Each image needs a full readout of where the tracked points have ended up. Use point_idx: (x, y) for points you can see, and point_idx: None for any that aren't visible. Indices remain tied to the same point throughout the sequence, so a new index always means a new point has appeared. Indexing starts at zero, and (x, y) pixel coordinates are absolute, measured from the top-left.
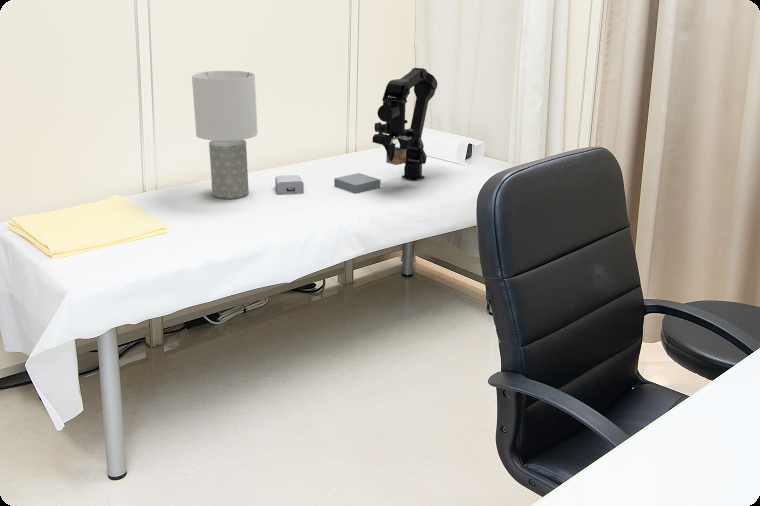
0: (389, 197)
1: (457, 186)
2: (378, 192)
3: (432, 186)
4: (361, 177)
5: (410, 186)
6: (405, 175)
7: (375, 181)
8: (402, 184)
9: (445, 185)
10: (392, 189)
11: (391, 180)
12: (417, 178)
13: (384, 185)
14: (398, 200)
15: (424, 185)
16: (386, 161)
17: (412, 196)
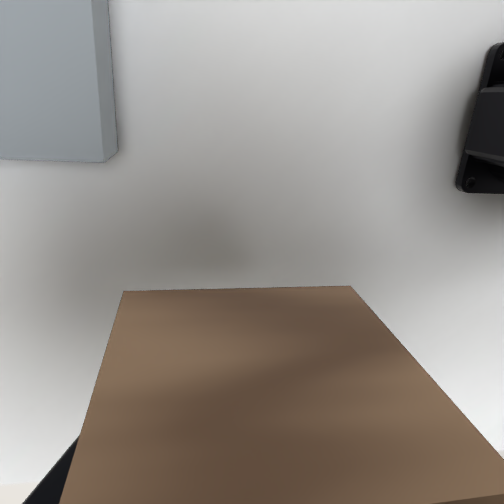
0: (12, 380)
1: (492, 420)
2: (12, 248)
3: (414, 354)
4: None
5: (323, 278)
6: (483, 111)
7: (32, 159)
8: (324, 205)
9: (475, 378)
10: (166, 255)
11: (357, 51)
12: (500, 193)
13: (194, 128)
14: (27, 448)
15: (403, 314)
16: (122, 301)
17: None
